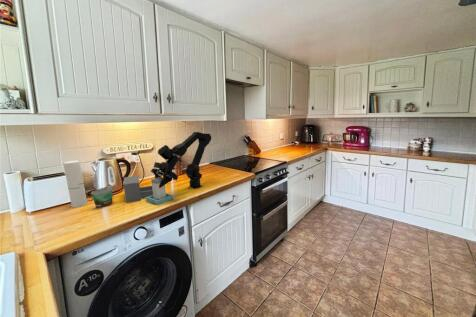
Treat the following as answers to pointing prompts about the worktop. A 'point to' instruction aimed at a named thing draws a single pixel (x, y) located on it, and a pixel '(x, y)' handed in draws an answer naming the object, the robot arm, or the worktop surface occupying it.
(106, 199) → the food container
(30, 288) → the worktop surface
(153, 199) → the teal tray
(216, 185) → the worktop surface
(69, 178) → the grey rectangular column
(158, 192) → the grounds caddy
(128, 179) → the coffee machine bay
